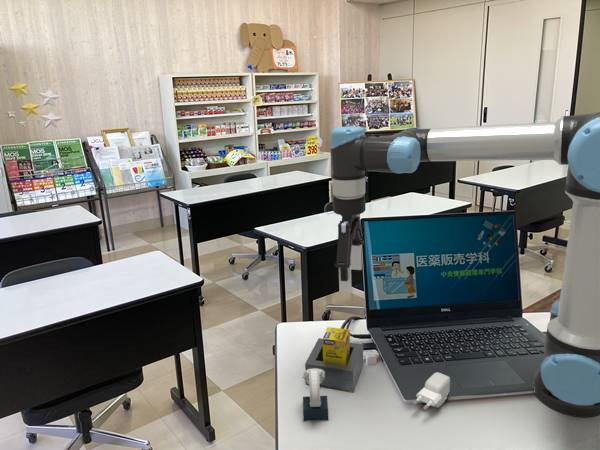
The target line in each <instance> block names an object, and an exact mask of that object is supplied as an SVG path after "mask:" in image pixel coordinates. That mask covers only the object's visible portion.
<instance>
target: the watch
mask: <svg viewBox="0 0 600 450" xmlns="http://www.w3.org/2000/svg"><path fill="white" fill-rule="evenodd" d="M324 378H325V372H324V371H323V370H321V369H308V370H306V371H305V370H304V371H303V373H302V374H301V379H304V381H305V383H306V382H307V384H309V385H308V386H309V396H308V395H307V396H302V412H303V414H302V415H303V422H313V421H316V422H317V421H329V404H328V395H320V393H321V391H320V388H321V387H320V384H321V383H322V381H323V380H324ZM317 385H318V386H317Z"/></svg>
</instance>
